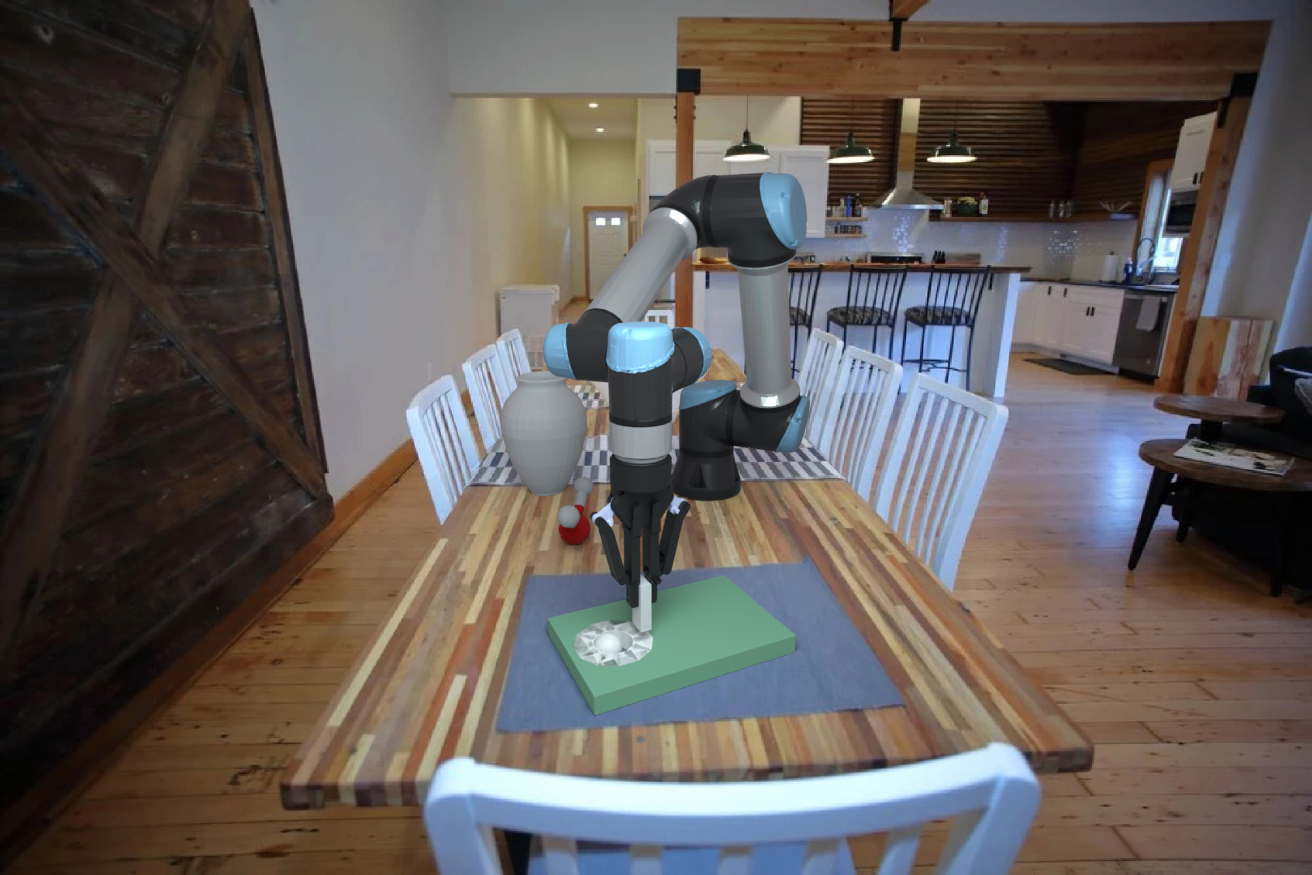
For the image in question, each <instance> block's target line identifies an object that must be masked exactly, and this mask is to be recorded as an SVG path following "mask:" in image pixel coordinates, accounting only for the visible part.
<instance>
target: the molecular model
mask: <svg viewBox="0 0 1312 875" xmlns="http://www.w3.org/2000/svg"><path fill="white" fill-rule="evenodd" d="M594 488H595V486H594V482H593V481H592V479H591V478H590V477H587V476H580V477H578V478H577V479H575V481H574V484H573V490H574V492H575V494H576V497H575V502H574V505H570V504H568V505H564V506H562V507H561V508H560V509H559V510H558V512H557V516H556V518H557V520H558V523H559V525H558V533H559V534H558V535H559V536H560V539H562V540H563V542H565V543H566V544H569V545H575V546H576V545H579V544H580V545H581V544H582V543H584V542H585V541H587V539H588V538H589V536H590V533H591V524H590V521H589V519H588V518H587V516H585V515H584V512H585V506H586V501H587V497H588V496H590V495H591V494H592V493H593V492H594V491H593V490H594Z"/></svg>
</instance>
